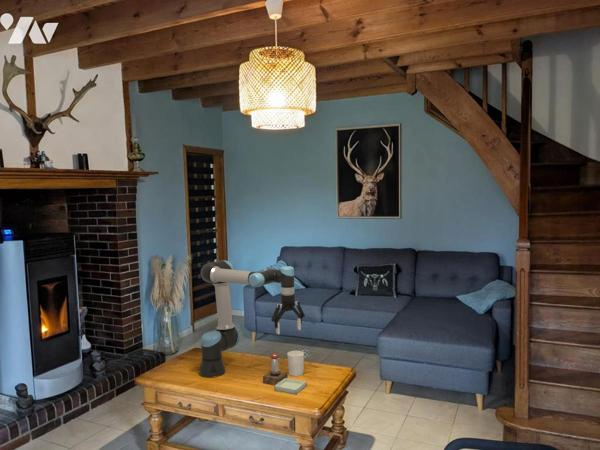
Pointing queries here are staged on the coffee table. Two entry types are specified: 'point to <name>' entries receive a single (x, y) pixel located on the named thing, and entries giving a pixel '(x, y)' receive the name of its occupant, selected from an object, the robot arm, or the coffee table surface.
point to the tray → (290, 386)
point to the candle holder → (295, 362)
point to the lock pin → (274, 364)
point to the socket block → (274, 378)
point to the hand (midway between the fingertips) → (288, 331)
